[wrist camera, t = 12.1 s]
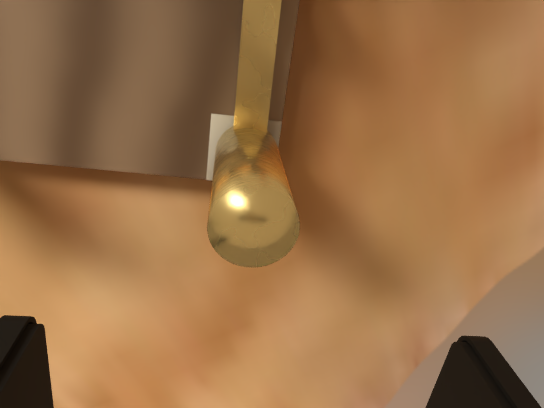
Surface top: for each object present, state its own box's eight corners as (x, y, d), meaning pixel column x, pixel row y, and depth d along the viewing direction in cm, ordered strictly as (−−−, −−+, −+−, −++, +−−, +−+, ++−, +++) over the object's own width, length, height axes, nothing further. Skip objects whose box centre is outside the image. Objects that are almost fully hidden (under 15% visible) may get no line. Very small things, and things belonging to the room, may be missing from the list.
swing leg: (230, -82, 20) (228, -136, 12) (306, -71, 20) (355, -115, 12) (213, 180, 26) (205, 265, 17) (274, 184, 26) (293, 269, 18)
